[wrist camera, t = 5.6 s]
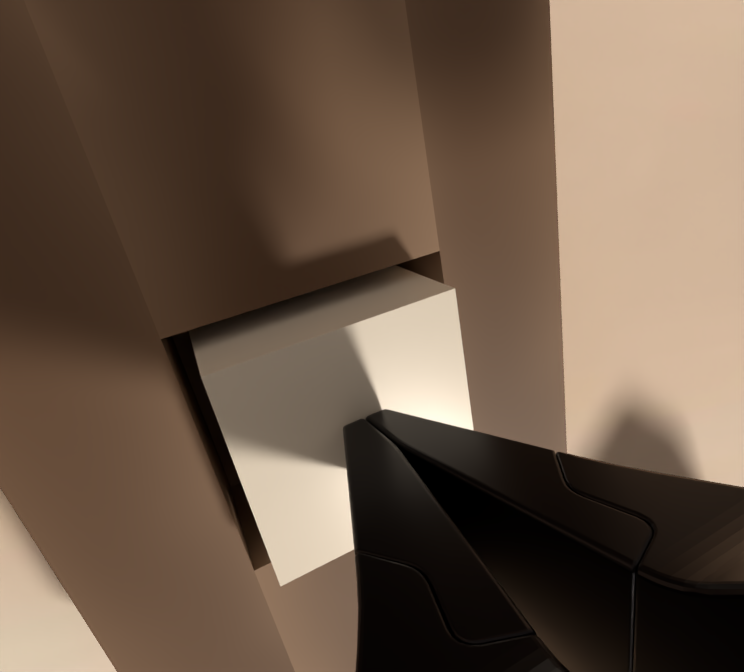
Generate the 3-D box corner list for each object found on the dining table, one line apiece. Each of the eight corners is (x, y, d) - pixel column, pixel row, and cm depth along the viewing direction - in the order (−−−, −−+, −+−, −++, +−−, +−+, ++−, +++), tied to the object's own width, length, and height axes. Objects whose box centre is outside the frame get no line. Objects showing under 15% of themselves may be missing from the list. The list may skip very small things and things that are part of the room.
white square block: (382, 260, 11) (454, 288, 8) (412, 421, 13) (481, 485, 10) (185, 321, 10) (200, 377, 7) (249, 491, 11) (280, 586, 9)
